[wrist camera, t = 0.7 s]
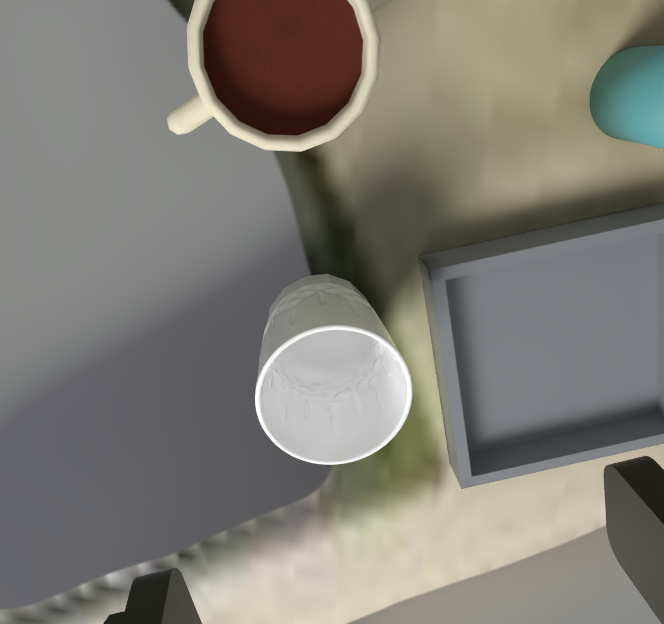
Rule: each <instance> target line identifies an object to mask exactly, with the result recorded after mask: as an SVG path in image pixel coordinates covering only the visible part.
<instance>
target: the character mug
mask: <svg viewBox="0 0 664 624" xmlns="http://www.w3.org/2000/svg"><path fill="white" fill-rule="evenodd" d="M389 1H390V0H195V2H194V5H193V8H192V12H191V15H190V19H189V22H188V25H187V46H188V68H189V71H190V73H191V76H192V78H193V81H194V83H195V86H196V88H197V90H198V93H197V94H196V95H194V96H193V97H191V98H190V99H188V100H187V101H185V102H184V103H182V104H181V105H179V106H178V107H176V108H175V109H174V110H172V112H171V113H170V115H169V117H168V118H167V121H168V125H169V129H170V130H171V131H173V132H174V133H176V134H178V135H179V134H187V133H189V132H190V131H192V130H194V129H195V128H196V127H198V126H200V125H201V124H203V123H204V122H206V121H207V120H209V119H210V118H212V117H215V118H216V119H217V120H218V121H219V122H220V123H221V124H222V125H223V127H224V128H225V129H226V130H227V131H229V133H230V134H231V135H234V136H236V137H238V138H240V139H243V140H244V141H247V142H249V143H251V144H253V145H255V146H258V147H260V148H262V149H264V150H279V151H304V150H307V149H309V148H312V147H315V146H317V145H320V144H323V143H325V142H328V141H331V140H333V139H335V138H336V137H337V136H338V135H340V134H341V133H342V132H343V131H344V130H345V129H346V128H347V127H348V126H349V125H350V124H351V123H352V122H353V121H354V120H355V119H356V118H357V117H358V116H359V115H360V114H361V113H362V111H363V109H364V107H365V105H366V102H367V100H368V98H369V96H370V94H371V91H372V89H373V87H374V85H375V82H376V80H377V78H378V67H379V52H380V38H381V37H380V33H379V30H378V27H377V23H376V20H375V17H374V13H373V11H375V10H376V9H378V8H379V7H381V6H383V5H384V4H386V3H387V2H389Z"/></svg>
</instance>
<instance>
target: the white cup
mask: <svg viewBox="0 0 664 624" xmlns="http://www.w3.org/2000/svg"><path fill="white" fill-rule="evenodd" d="M411 402H412V380H411V376H410V372H409V369H408V367H407V365H406V363H405V361H404V359H403V357H402V356H401V354H400V352H399V351H398V349H397V347H396V345H395V344H394V342H393V340H392V338H391V337H390V335H389V333H388V331H387V329H386V328H385V326H384V324H383V323H382V321H381V320H380V318H379V317H378V315H377V313H376V312H375V311H374V309H373V308H372V307H371V305H370V304H369V303H368V301H367V299H366V297H365V296H364V295H363V294H362V293H361V292H360V291H359V290H358V289H357V288H356V287H355V286H354V285H353V284H352V283H351V282H350V281H347V280H344V279H341V278H338V277H335V276H333V275H330V274H320V275H310V276H303V277H301V278H300V279H298V280H296V281H295V282H293V283H291V284H289V285H288V286H286V287H284V288H283V289H282V290H281V292H280V293H279V295H278V296H277V298H276V299H275V301H274V302H273V304H272V305H271V307H270V310H269V318H268V323H267V326H266V328H265V332H264V337H263V342H262V348H261V353H260V363H259V372H258V378H257V385H256V394H255V403H256V410H257V414H258V418H259V420H260V423H261V425H262V427H263V429H264V431H265V432H266V434H267V435H268V436H269V438H270V439H271V440H272V441H273V442H274V443H275V444H276V445H277V446H278V447H279V448H281V449H282V450H284V451H285V452H287V453H288V454H290V455H292V456H294V457H296V458H299V459H301V460H304V461H307V462H311V463H317V464H343V463H348V462H353V461H356V460H359V459H362V458H364V457H367V456H369V455H371V454H373V453H374V452H376V451H378V450H379V449H381V448H382V447H383V446H385V445H386V444H387V443H388V442H389V441H390V440H391V439H392V438H393V437H394V436H395V435H396V434H397V433H398V431H399V430H400V428H401V427H402V425H403V424H404V422H405V420H406V418H407V416H408V413H409V410H410V406H411Z"/></svg>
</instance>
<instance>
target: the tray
mask: <svg viewBox="0 0 664 624" xmlns="http://www.w3.org/2000/svg"><path fill="white" fill-rule="evenodd" d="M419 262H420V268H421V275H422V282H423V288H424V295H425V302H426V308H427V315H428V322H429V328H430V335H431V341H432V348H433V355H434V361H435V368H436V375H437V381H438V388H439V395H440V401H441V408H442V415H443V421H444V428H445V434H446V441H447V448H448V454H449V461H450V465H451V467H452V469H453V471H454V473H455V476H456V478H457V480H458V482H459V484H460V486H461V489H463V488H468V487H472V486H477V485H481V484H486V483H490V482H495V481H499V480H503V479H508V478H512V477H517V476H521V475H526V474H530V473H535V472H539V471H544V470H548V469H552V468H557V467H561V466H566V465H570V464H575V463H579V462H584V461H588V460H592V459H597V458H601V457H606V456H610V455H615V454H619V453H624V452H628V451H632V450H637V449H641V448H646V447H650V446H655V445H659V444H664V202H663V203H658V204H654V205H649V206H645V207H640V208H635V209H631V210H626V211H622V212H617V213H613V214H608V215H604V216H599V217H594V218H590V219H585V220H581V221H576V222H572V223H567V224H562V225H558V226H553V227H549V228H544V229H540V230H535V231H530V232H526V233H521V234H517V235H512V236H508V237H503V238H499V239H494V240H489V241H485V242H480V243H476V244H471V245H467V246H462V247H457V248H453V249H448V250H444V251H439V252H435V253H430V254H425V255H421V256H419Z"/></svg>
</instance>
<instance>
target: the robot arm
mask: <svg viewBox="0 0 664 624" xmlns="http://www.w3.org/2000/svg"><path fill="white" fill-rule="evenodd" d="M604 489H605V507H606V525H607V533H608V538H609V541H610V544H611V547H612V550H613V552H614V554H615V556H616V558H617V560H618V562H619V564H620V565H621V567H622V568H623V569H624V571H625V572H626V574H627V575H628V576H629V578H630V579H631V581H632V582H633V583H634V585H635V586H636V588H637V589H638V590H639V592H640V594H641V595H642V596H643V598H644V599H645V601H646V602H647V603H648V605H649V606H650V608H651V609H652V610H653V612H654V613H655V615H656V616H657V618H658V619H659V620H660V622H661V623H662V624H664V470H663V469H662V468H661V467H660V465H659V464H658V463H657V462H656V461H654V460H653V459H652V458H651V457H648V456H643V457H639V458H635V459H631V460H627V461H623V462H618V463H614V464H610V465H607V466H606V467H605V469H604ZM104 624H202V623H201V620H200V618H199V615H198V613H197V610H196V608H195V606H194V603H193V601H192V598H191V596H190V593H189V591H188V588H187V586H186V583H185V581H184V578H183V576H182V574H181V572H180V571H179V569H177V568H173V569H169V570H165V571H161V572H156V573H152V574H148V575H144V576H140V577H137V578H135V579H134V581H133V583H132V586H131V589H130V593H129V597H128V601H127V605H126V609H125V611H124V612H119V613H115V614H111V615H109V616H108V618H107V619H106V621H105V622H104Z"/></svg>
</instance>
